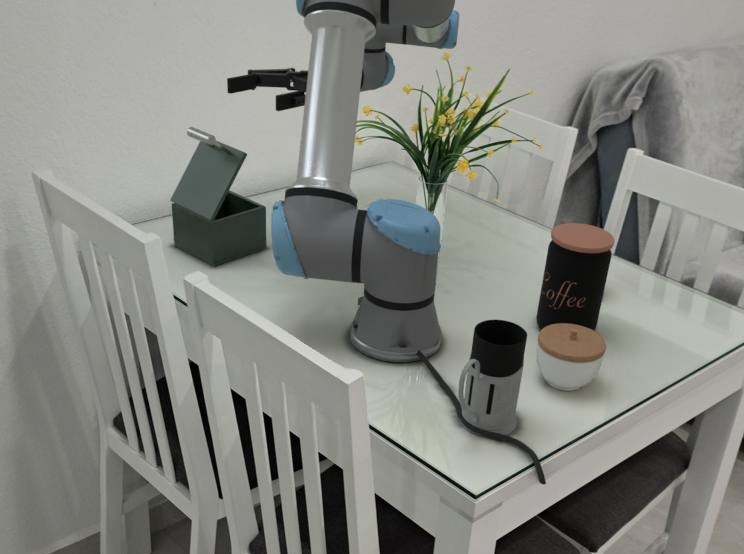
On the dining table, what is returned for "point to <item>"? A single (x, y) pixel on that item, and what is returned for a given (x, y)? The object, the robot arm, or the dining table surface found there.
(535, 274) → the dining table surface
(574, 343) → the trinket box
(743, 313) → the dining table surface
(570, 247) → the coffee jar
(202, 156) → the bin lid
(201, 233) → the bin
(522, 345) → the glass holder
